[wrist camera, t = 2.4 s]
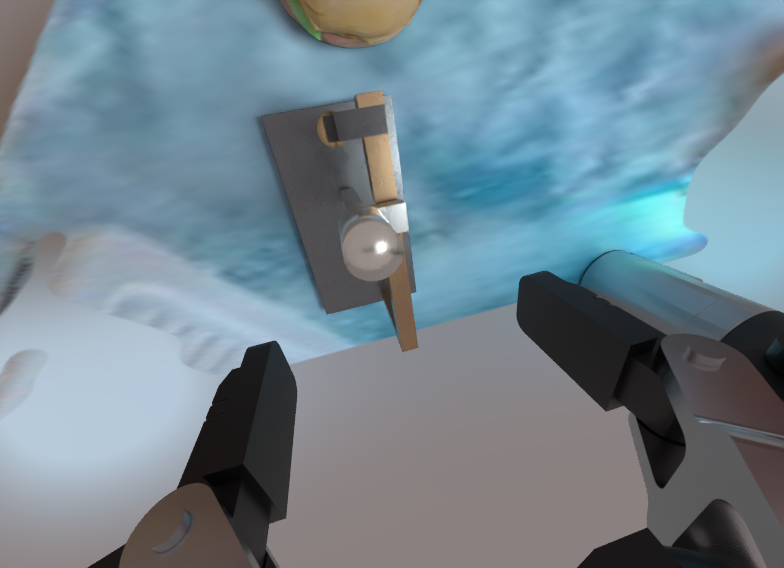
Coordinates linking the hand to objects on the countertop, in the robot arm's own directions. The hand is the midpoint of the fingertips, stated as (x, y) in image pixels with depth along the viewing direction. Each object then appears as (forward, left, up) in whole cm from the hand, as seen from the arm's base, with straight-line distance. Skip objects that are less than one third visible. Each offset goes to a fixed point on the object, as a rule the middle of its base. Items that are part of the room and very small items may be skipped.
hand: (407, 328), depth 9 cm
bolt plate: (0, +3, -25) cm, 25 cm away
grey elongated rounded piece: (-1, 0, -23) cm, 23 cm away
